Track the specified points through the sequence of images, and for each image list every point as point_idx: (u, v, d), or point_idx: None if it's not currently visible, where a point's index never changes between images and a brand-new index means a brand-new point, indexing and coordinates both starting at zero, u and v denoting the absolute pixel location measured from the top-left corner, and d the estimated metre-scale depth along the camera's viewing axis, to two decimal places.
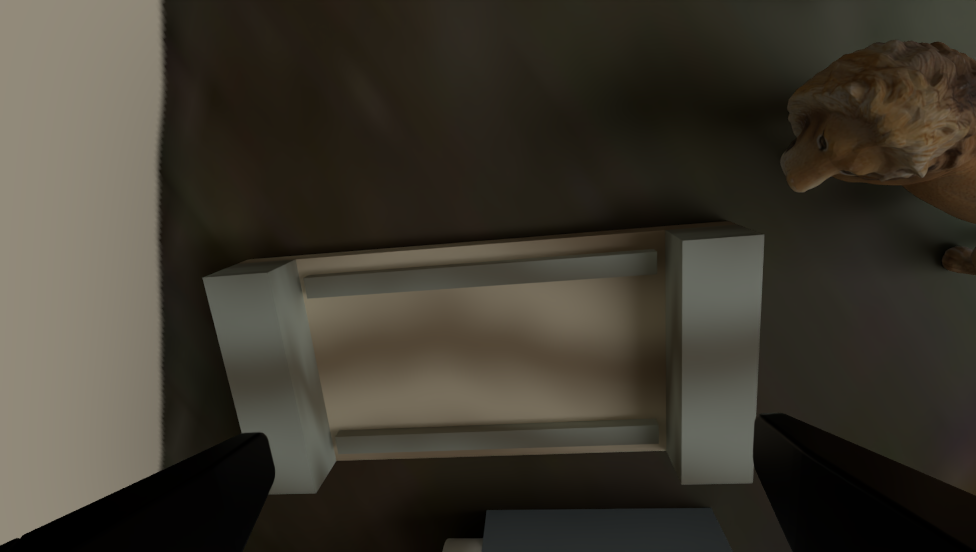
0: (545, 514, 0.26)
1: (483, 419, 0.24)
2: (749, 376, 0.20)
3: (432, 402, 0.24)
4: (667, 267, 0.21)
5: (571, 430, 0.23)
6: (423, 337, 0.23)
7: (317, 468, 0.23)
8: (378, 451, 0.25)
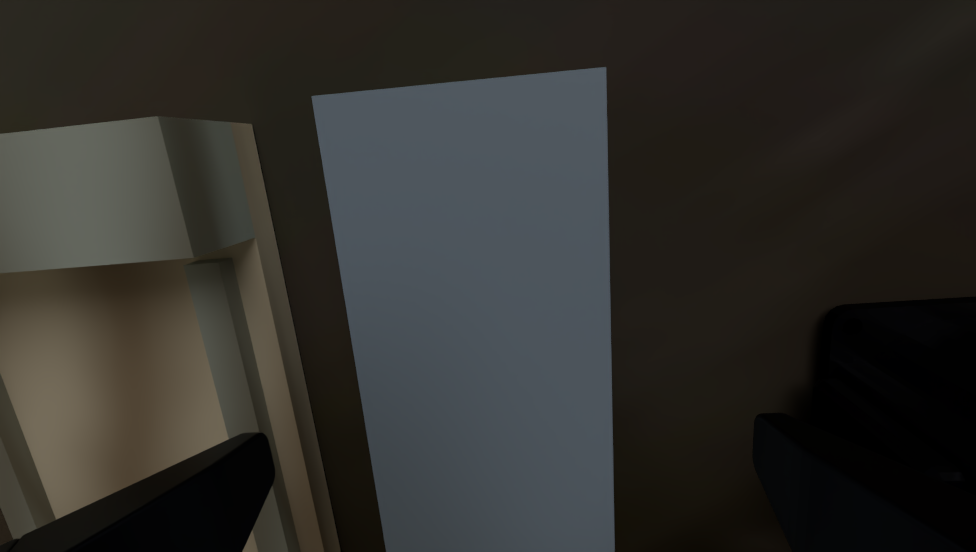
0: None
1: None
2: None
3: None
4: None
5: (225, 401, 0.14)
6: None
7: None
8: None
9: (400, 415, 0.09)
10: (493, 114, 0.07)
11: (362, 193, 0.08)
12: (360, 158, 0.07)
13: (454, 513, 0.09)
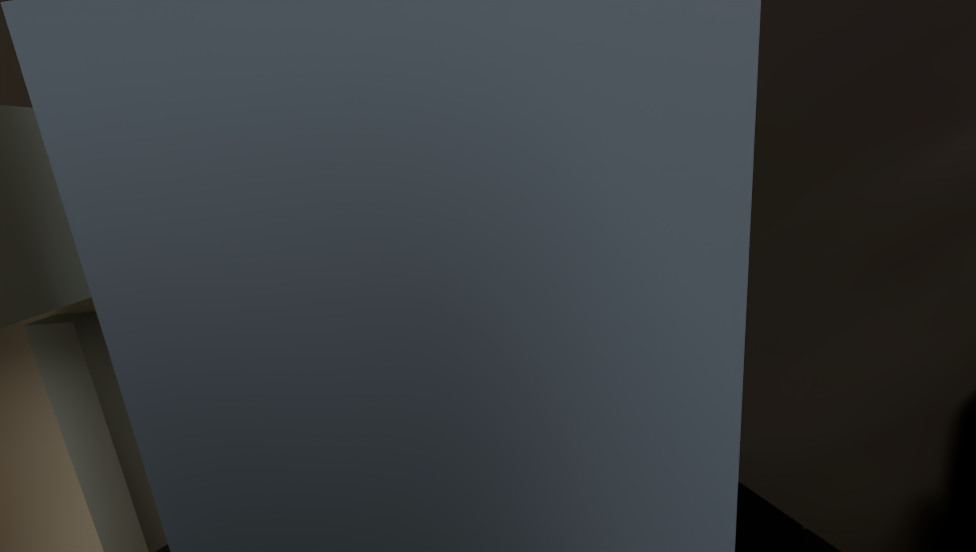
0: None
1: None
2: None
3: None
4: None
5: (100, 514, 0.10)
6: None
7: None
8: None
9: None
10: (453, 38, 0.03)
11: (152, 240, 0.03)
12: (137, 157, 0.03)
13: None
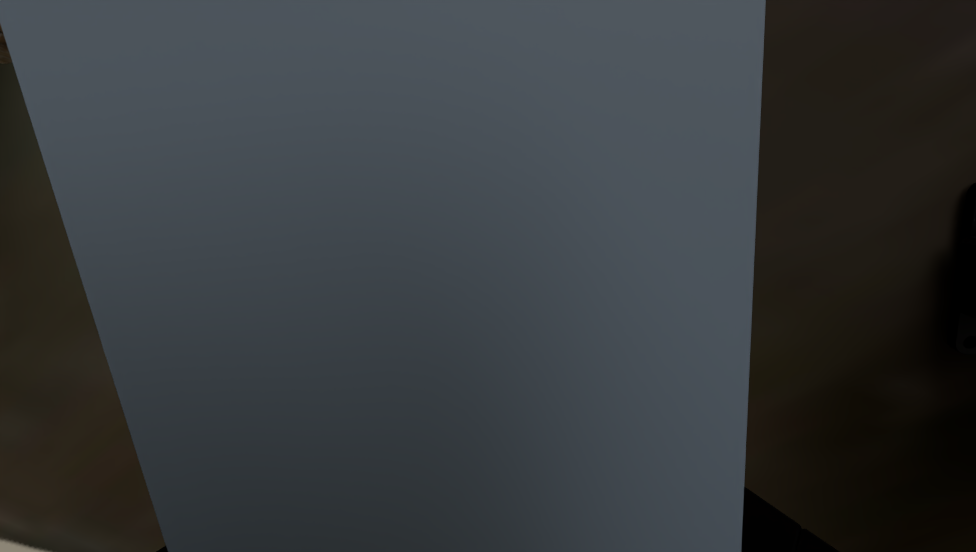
0: None
1: None
2: None
3: None
4: None
5: None
6: None
7: None
8: None
9: None
10: (452, 27, 0.03)
11: (147, 236, 0.03)
12: (131, 152, 0.03)
13: None
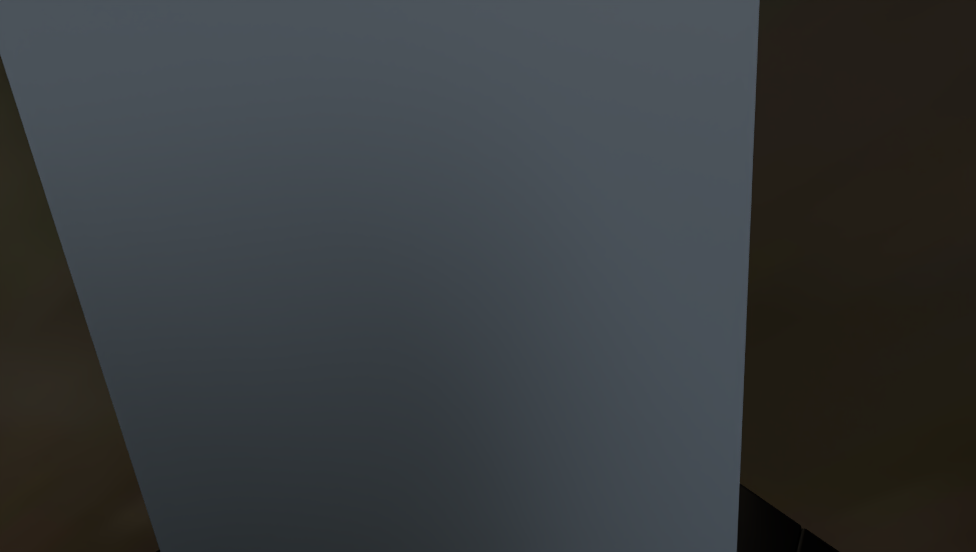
0: None
1: None
2: None
3: None
4: None
5: None
6: None
7: None
8: None
9: None
10: (444, 27, 0.03)
11: (139, 237, 0.03)
12: (122, 153, 0.03)
13: None
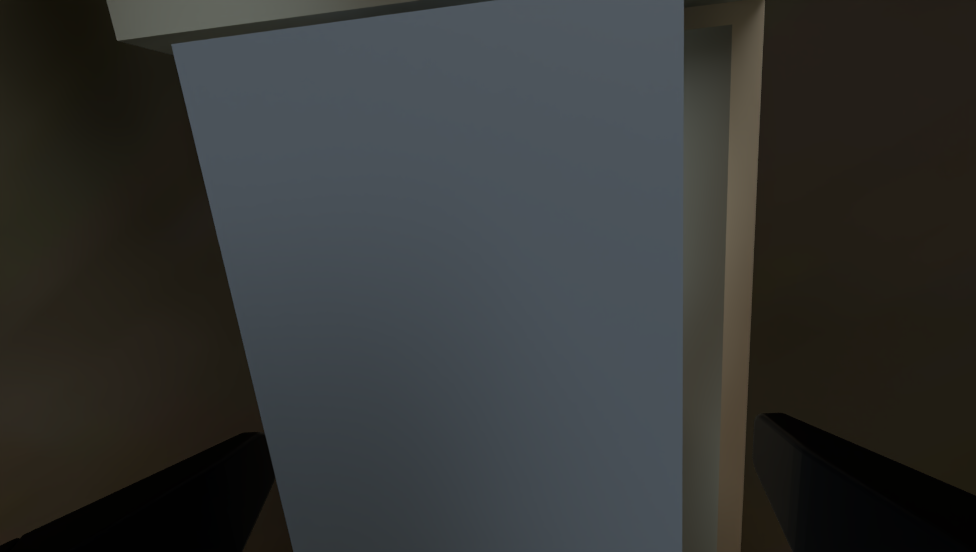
0: None
1: None
2: None
3: None
4: None
5: None
6: None
7: None
8: None
9: (348, 550, 0.06)
10: (480, 67, 0.04)
11: (267, 208, 0.05)
12: (260, 149, 0.04)
13: None
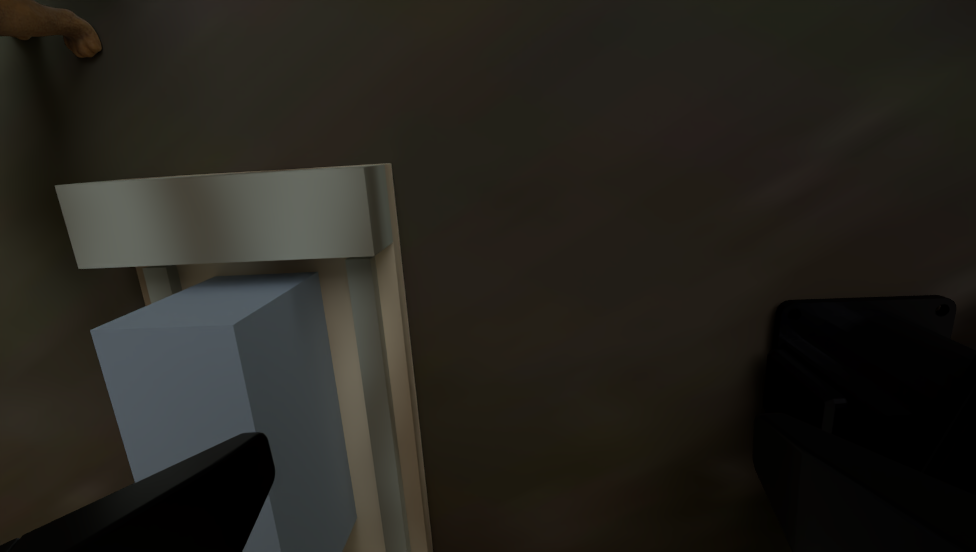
0: None
1: (368, 439, 0.21)
2: (218, 185, 0.16)
3: (353, 487, 0.22)
4: None
5: (362, 355, 0.20)
6: None
7: None
8: (407, 548, 0.22)
9: None
10: (181, 343, 0.14)
11: (121, 376, 0.14)
12: (118, 360, 0.14)
13: None
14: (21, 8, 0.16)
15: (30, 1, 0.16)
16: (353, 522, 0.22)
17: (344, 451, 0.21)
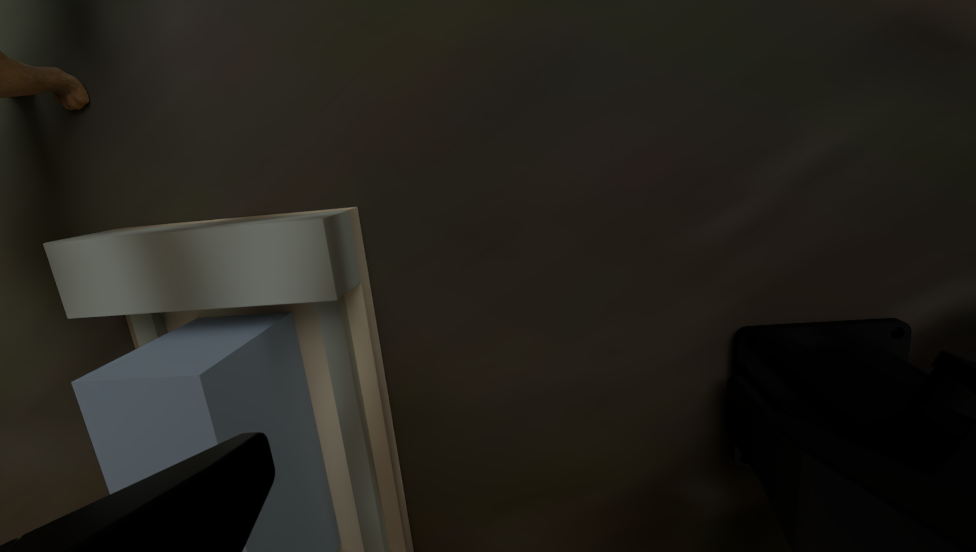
0: None
1: (347, 468, 0.22)
2: (190, 239, 0.17)
3: (336, 513, 0.23)
4: None
5: (336, 389, 0.21)
6: None
7: None
8: None
9: None
10: (153, 392, 0.15)
11: (101, 423, 0.16)
12: (97, 408, 0.15)
13: None
14: (10, 72, 0.17)
15: (18, 64, 0.17)
16: (337, 547, 0.23)
17: (325, 480, 0.22)
